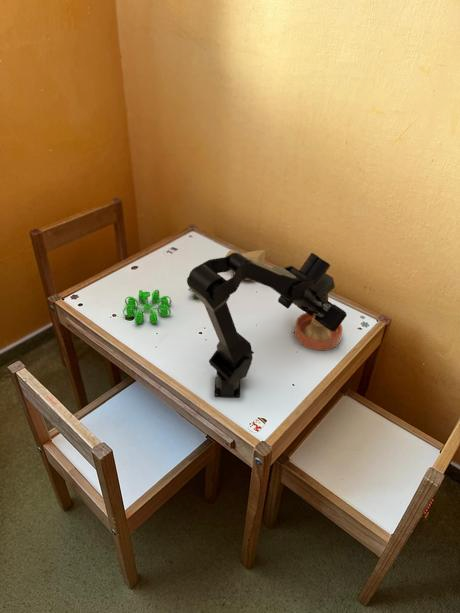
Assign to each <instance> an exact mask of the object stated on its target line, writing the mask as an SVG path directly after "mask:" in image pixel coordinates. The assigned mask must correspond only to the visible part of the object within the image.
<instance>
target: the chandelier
mask: <svg viewBox="0 0 460 613" xmlns="http://www.w3.org/2000/svg"><path fill="white" fill-rule="evenodd" d="M150 296H151V301H150V303H149V300H148V298H149V297H150ZM168 299H169V300H170V301H169V300H168ZM139 302H140V303H141V304H140V303H139ZM124 303H125V305H126V306H125V307H124V308H123V310H122V314H123V316H124V317H126V318H133V317H134V323H135V325H140V324H142V323H144V313H145V312H146V311H149V322H150V323H151V324H153V325H157V322H158V314H159V315H160V316H161V317H165V318H168V317H170V315H171V313H172V312H171V308H170V305H171V304H172V298H171V296H168V295H163V296H161V297H160V290H159V289H155V290H153V292H152V293H151V292H149V291H143V290H142V289H139V290H138V300H137V299H136V298H135V297H134V296H131V295H129V296H127V297H126V298H125V300H124ZM152 303H153V304H152ZM139 306H141V307H139ZM153 306H157V308H156V307H153ZM138 307H139V308H138ZM159 308H160V309H159ZM135 309H136V310H135ZM142 309H144V310H142ZM154 310H157V313H158V314H157V313H156V312H155V311H154ZM125 312H126V314H125Z"/></svg>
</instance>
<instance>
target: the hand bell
mask: <svg viewBox="0 0 460 613" xmlns="http://www.w3.org/2000/svg"><path fill="white" fill-rule="evenodd" d="M325 298H326V300H325V301H324V302H326V301H329V293H328V294H327V295H326V296H325ZM314 318H315V317H313V319H312V321H311V324H310V325H308V326H307V327H306V328H305V329H304V330H303V334H304V335H305V336H307V337H309V338H311V339H315V340H330V339H331V338H332V334H331V331H330V330H329V329H327V328H326V327H324V326H323V325H321V324H320V323H319V322H318V321H317V320H315V319H314Z"/></svg>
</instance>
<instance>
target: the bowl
mask: <svg viewBox="0 0 460 613" xmlns="http://www.w3.org/2000/svg"><path fill="white" fill-rule="evenodd" d="M315 316H316V314H315V313H314V314H313V315H312V316H310V315H309V314H307V313H306V312H303V313H302V314H300V315H299V316H298V317H297V318H296V321H295V326H294V337H295V339H296V340H297V342H299V343H300V344H301V345H302V346H303V347H306V348H308V349H311V350H315V351H328V350H331V349H334V348H336V347H337V346H338V345H339V344H340V342H341V338H342V333H343V325H342V323H341V324H340V325H339V327H338V328H337V330H336V331H335V332H331V334H332V338H331V339H330V340H315V339H311V338H309V337H307V336H305V335H304V334H303V330H304V329H305V328H306V327H307V326H308V325H310V324H311V321H312V319H313V317H315Z"/></svg>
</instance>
